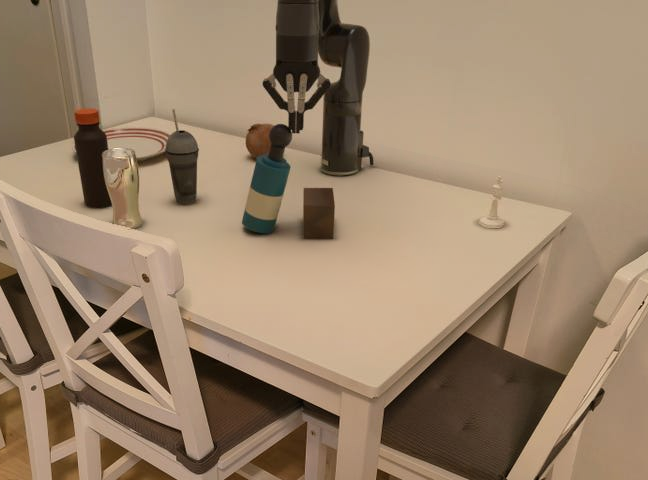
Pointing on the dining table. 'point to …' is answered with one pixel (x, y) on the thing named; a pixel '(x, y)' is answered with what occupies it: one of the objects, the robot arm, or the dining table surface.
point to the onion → (258, 139)
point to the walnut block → (318, 213)
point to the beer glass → (122, 185)
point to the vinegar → (91, 157)
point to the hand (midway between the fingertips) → (295, 132)
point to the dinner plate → (137, 141)
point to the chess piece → (494, 208)
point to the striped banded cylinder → (268, 183)
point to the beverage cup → (183, 164)
